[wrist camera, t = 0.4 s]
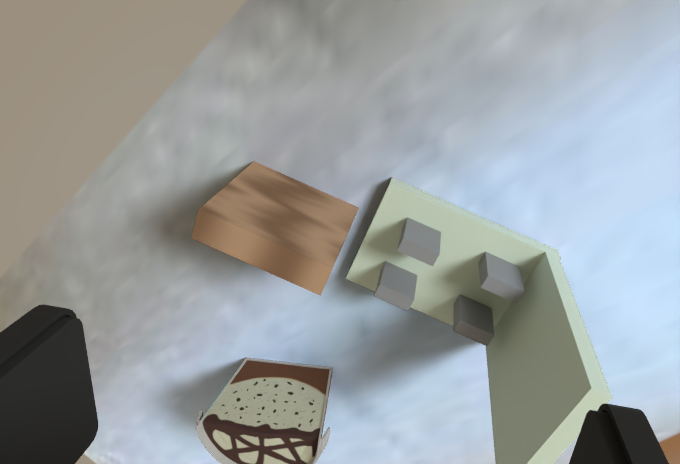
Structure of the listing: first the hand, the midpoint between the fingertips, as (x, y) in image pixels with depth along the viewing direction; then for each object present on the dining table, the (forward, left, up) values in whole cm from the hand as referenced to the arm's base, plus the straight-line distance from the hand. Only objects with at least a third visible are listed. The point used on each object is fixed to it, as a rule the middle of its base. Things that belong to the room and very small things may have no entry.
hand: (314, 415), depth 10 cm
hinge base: (+12, +8, -34) cm, 37 cm away
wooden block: (+12, -6, -34) cm, 37 cm away
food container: (+33, 0, -34) cm, 48 cm away
